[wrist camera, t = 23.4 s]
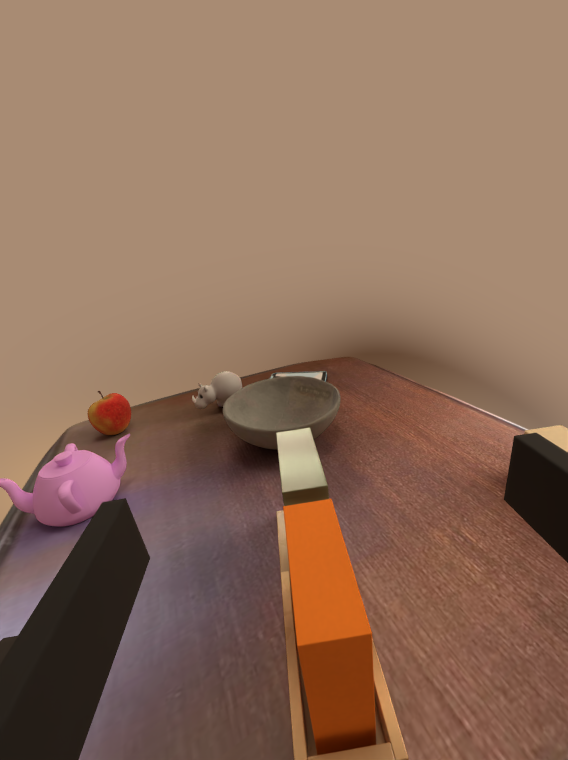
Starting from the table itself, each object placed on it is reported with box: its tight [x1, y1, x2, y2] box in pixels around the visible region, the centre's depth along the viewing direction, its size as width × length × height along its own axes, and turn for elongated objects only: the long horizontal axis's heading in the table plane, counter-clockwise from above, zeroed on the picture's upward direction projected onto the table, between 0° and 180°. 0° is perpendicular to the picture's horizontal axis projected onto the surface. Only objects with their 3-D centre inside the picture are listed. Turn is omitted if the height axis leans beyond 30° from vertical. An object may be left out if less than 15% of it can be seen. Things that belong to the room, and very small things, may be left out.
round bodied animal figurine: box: [192, 371, 242, 409], centre depth 72 cm, size 7×12×8 cm, turn 125°
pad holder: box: [276, 428, 408, 760], centre depth 28 cm, size 24×7×13 cm, turn 4°
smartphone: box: [270, 371, 327, 382], centre depth 84 cm, size 7×1×15 cm
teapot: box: [0, 434, 130, 526], centre depth 48 cm, size 12×14×9 cm
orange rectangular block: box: [283, 499, 376, 755], centre depth 23 cm, size 10×4×12 cm, turn 4°
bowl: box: [223, 376, 340, 450], centre depth 58 cm, size 21×21×8 cm
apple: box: [88, 391, 131, 435], centre depth 68 cm, size 8×8×10 cm
